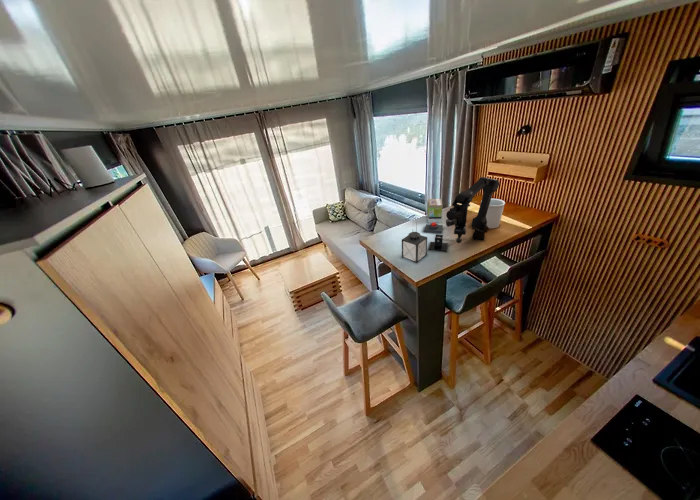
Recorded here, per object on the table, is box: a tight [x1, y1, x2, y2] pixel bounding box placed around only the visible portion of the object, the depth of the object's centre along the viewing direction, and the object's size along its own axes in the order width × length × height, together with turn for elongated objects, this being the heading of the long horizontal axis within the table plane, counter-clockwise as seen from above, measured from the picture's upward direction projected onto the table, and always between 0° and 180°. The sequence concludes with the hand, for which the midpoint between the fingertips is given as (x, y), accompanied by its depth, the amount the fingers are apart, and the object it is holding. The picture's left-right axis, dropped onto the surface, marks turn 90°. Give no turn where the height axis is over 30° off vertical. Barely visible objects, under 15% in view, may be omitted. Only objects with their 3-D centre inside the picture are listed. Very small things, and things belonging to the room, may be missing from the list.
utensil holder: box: [480, 198, 506, 229], centre depth 179 cm, size 15×15×18 cm
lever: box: [437, 236, 463, 244], centre depth 159 cm, size 15×3×3 cm, turn 67°
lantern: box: [401, 214, 428, 264], centre depth 152 cm, size 11×11×28 cm
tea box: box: [426, 198, 443, 224], centre depth 199 cm, size 15×10×15 cm
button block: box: [423, 223, 444, 234], centre depth 185 cm, size 12×10×4 cm
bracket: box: [428, 234, 449, 253], centre depth 163 cm, size 11×10×8 cm
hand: (459, 238), depth 156 cm, fingers closed
